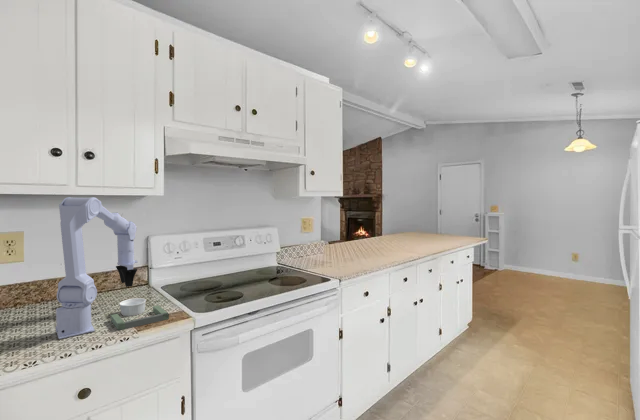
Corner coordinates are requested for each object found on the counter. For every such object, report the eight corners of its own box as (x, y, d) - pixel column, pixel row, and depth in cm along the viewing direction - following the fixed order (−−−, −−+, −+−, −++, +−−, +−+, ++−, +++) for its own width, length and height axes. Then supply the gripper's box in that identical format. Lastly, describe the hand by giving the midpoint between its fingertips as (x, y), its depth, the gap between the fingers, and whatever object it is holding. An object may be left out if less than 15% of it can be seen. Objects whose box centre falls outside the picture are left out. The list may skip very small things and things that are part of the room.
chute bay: (118, 330, 114) (118, 324, 113) (111, 320, 123) (110, 314, 122) (168, 318, 124) (168, 313, 124) (158, 310, 133) (158, 305, 133)
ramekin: (134, 317, 126) (134, 306, 125) (113, 315, 127) (113, 304, 127) (151, 309, 134) (151, 298, 134) (131, 308, 136) (131, 297, 136)
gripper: (141, 252, 135) (142, 286, 136) (132, 247, 146) (133, 279, 147) (121, 254, 131) (122, 289, 131) (113, 249, 142) (114, 282, 142)
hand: (126, 284), depth 139 cm, fingers open, 7 cm apart
